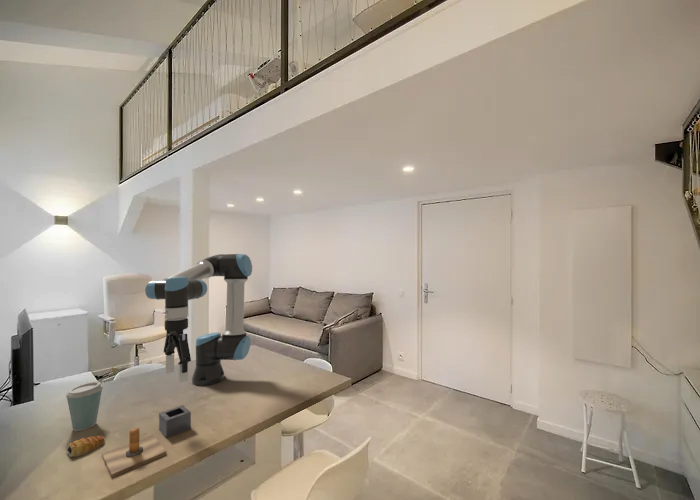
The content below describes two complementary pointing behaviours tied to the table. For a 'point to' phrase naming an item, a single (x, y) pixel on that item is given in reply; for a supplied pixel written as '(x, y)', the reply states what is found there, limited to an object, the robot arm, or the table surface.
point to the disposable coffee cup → (84, 405)
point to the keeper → (133, 453)
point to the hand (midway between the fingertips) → (176, 376)
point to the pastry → (84, 445)
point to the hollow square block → (174, 421)
